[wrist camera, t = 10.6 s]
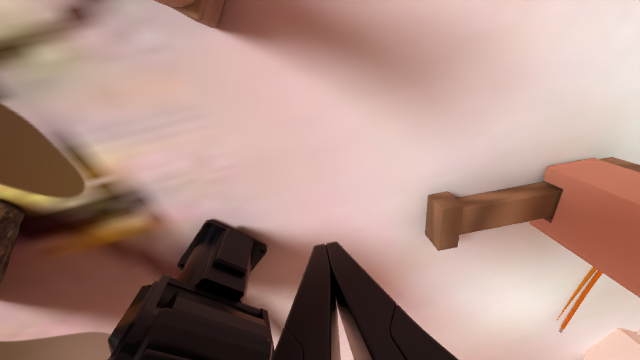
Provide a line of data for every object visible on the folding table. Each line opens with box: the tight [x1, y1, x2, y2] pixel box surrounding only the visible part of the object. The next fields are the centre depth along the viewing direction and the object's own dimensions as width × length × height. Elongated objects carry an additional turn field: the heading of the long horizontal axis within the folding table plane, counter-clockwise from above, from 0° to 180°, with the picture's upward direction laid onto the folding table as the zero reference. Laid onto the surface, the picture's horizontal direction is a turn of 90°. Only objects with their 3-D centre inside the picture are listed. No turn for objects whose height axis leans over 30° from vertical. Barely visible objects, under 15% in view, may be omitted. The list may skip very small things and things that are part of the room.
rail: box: [425, 157, 640, 251], centre depth 24 cm, size 20×6×5 cm, turn 98°
